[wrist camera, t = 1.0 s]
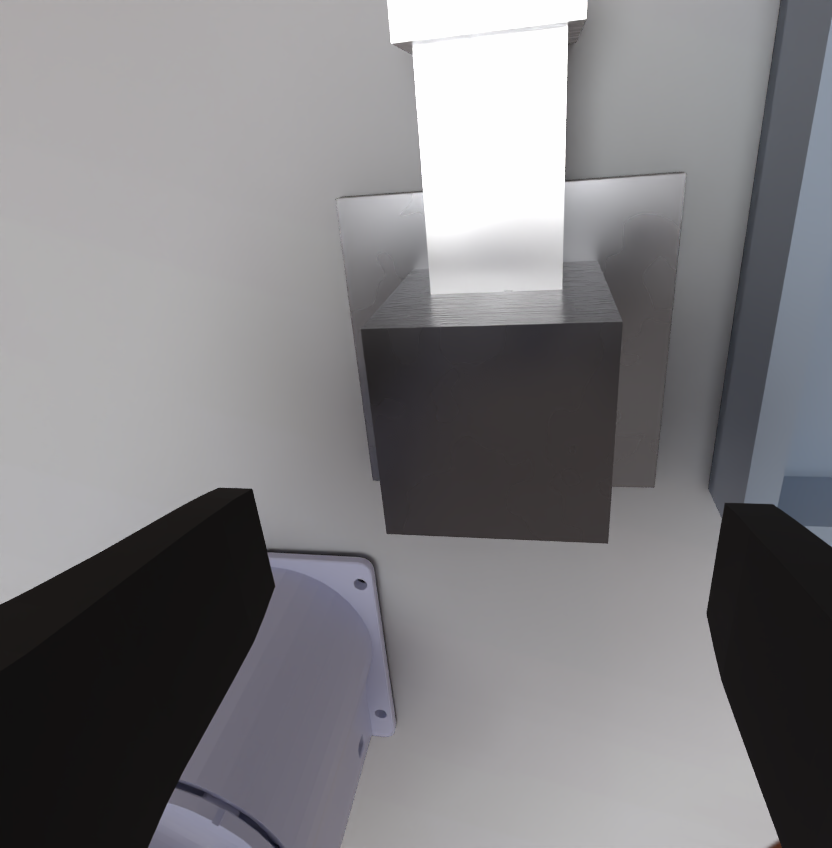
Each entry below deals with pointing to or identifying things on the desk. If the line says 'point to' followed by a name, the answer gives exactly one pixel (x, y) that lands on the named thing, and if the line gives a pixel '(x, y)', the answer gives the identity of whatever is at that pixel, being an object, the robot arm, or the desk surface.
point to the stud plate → (582, 241)
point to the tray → (785, 293)
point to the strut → (494, 294)
